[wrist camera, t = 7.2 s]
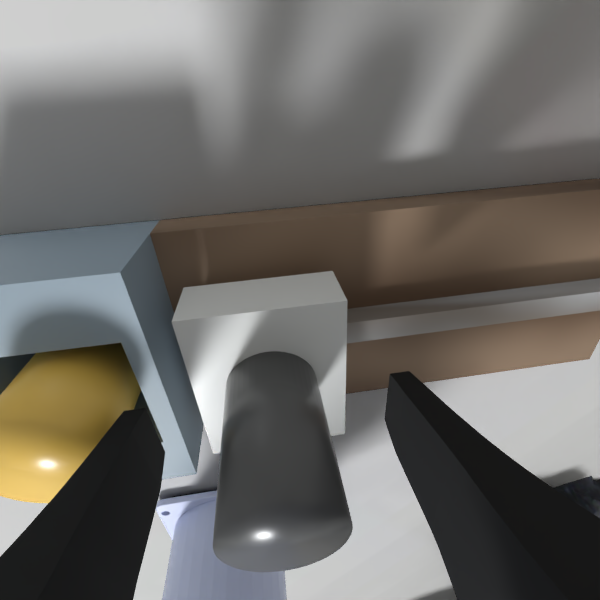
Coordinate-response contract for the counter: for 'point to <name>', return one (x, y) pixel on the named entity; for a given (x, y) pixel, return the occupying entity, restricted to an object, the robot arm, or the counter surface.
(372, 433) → the counter surface
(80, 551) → the robot arm
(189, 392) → the cabinet
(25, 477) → the button
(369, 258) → the rail board
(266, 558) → the carriage
